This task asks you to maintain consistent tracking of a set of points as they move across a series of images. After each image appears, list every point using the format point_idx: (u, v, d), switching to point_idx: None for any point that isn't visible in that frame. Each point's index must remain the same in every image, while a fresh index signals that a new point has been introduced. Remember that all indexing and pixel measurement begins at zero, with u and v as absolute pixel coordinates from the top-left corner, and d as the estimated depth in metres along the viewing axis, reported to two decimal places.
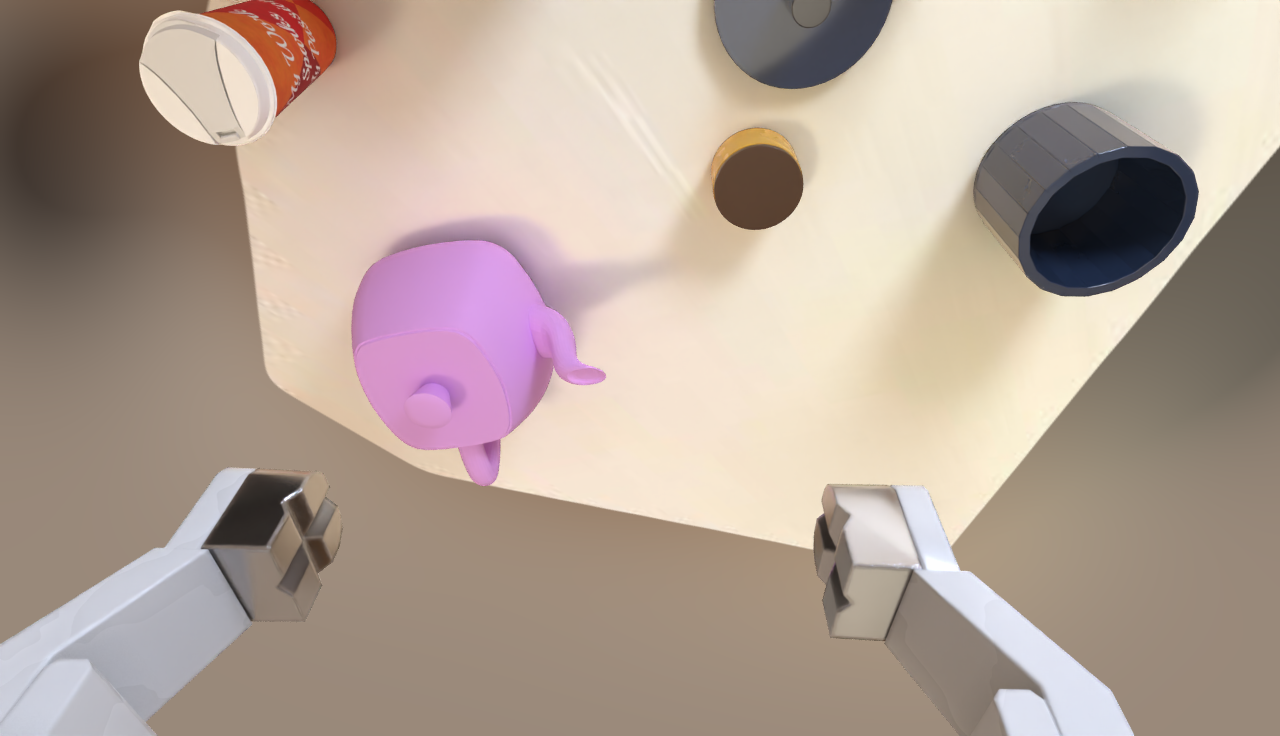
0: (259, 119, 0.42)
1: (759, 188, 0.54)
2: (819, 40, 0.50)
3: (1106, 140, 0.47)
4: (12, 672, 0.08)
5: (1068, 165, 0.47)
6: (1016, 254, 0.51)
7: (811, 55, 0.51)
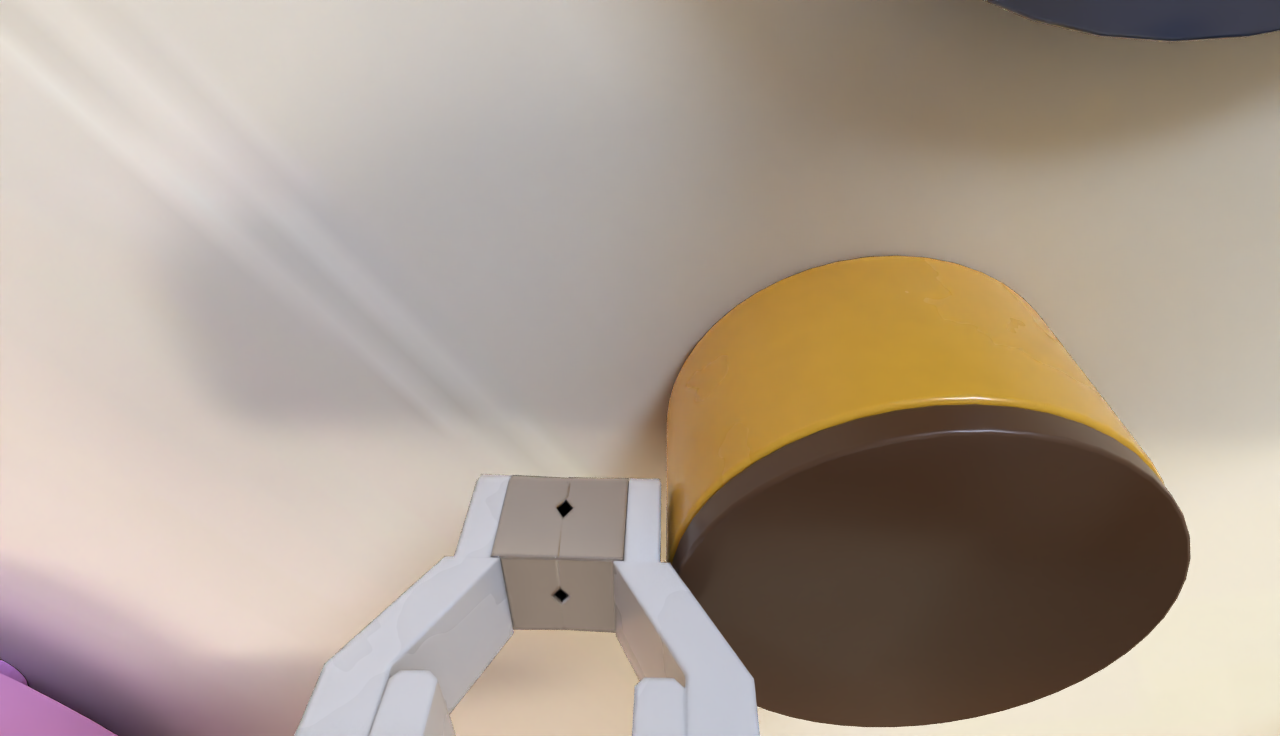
0: None
1: (921, 607, 0.10)
2: None
3: None
4: (358, 684, 0.08)
5: None
6: None
7: None
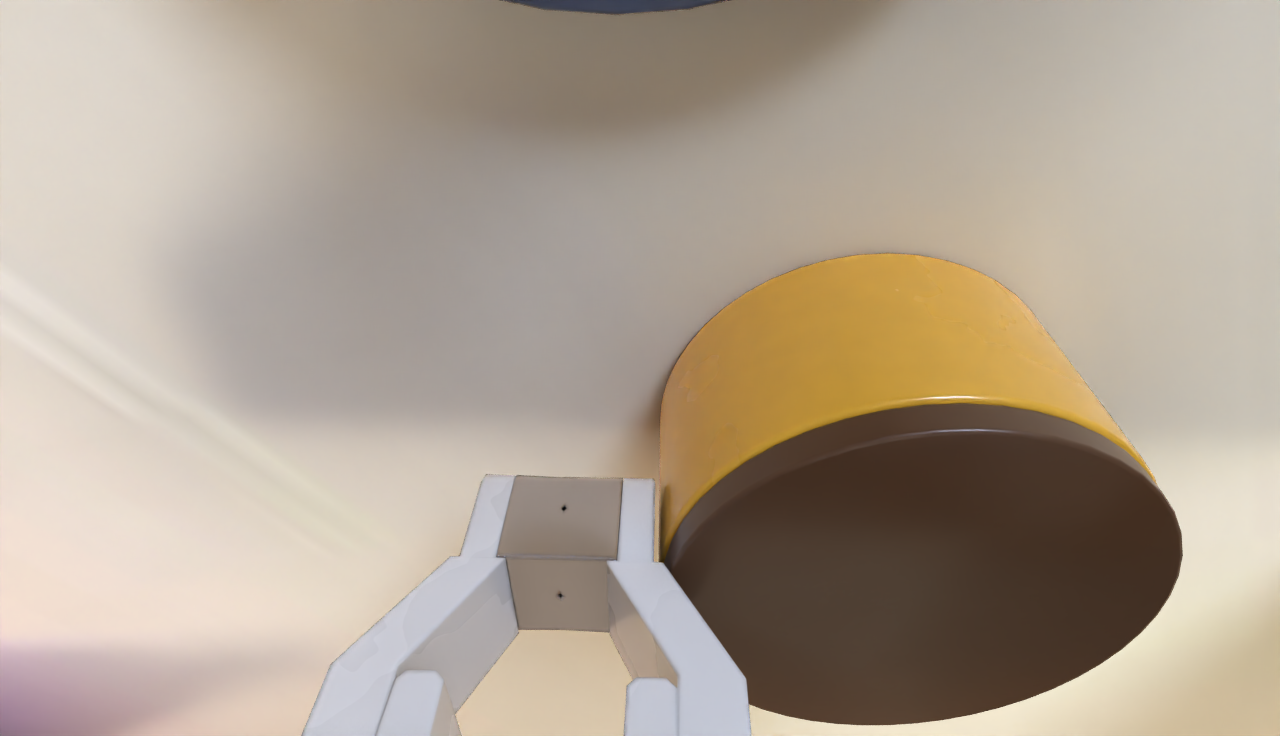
0: None
1: (914, 606, 0.10)
2: None
3: None
4: (364, 684, 0.08)
5: None
6: None
7: None
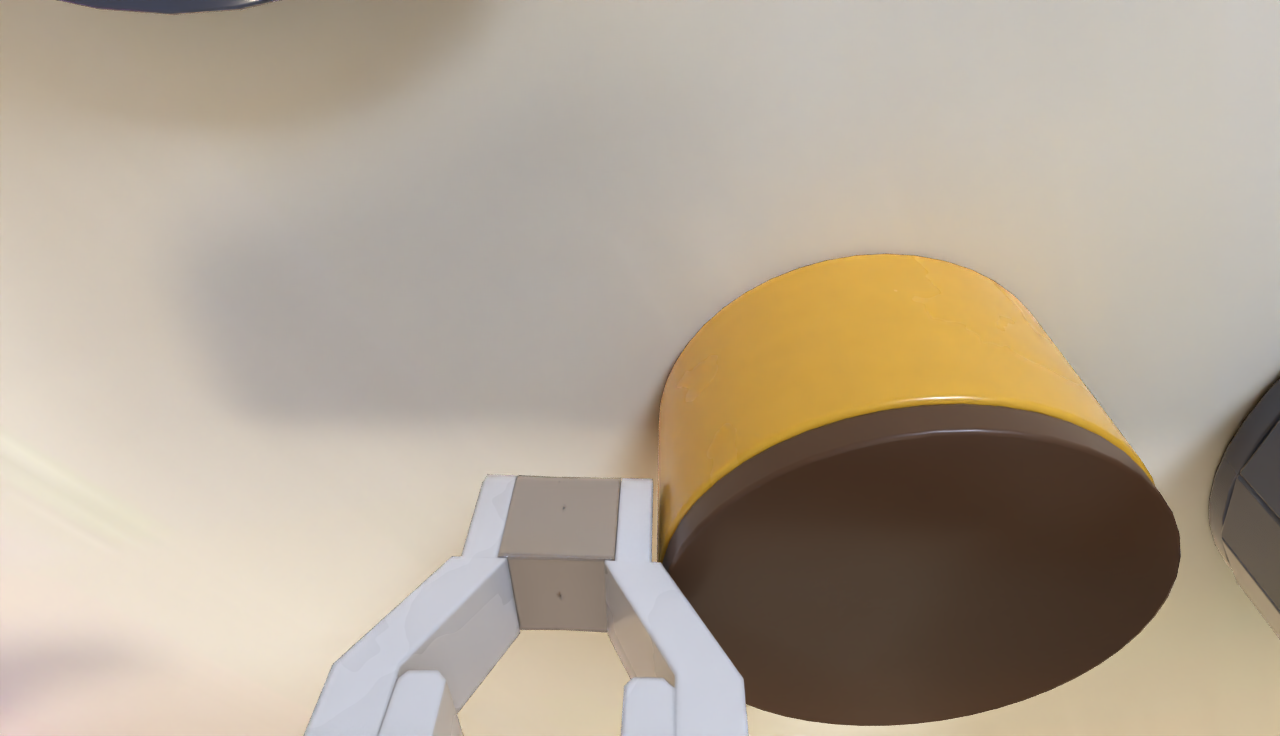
0: None
1: (912, 606, 0.10)
2: None
3: None
4: (366, 684, 0.08)
5: None
6: None
7: None
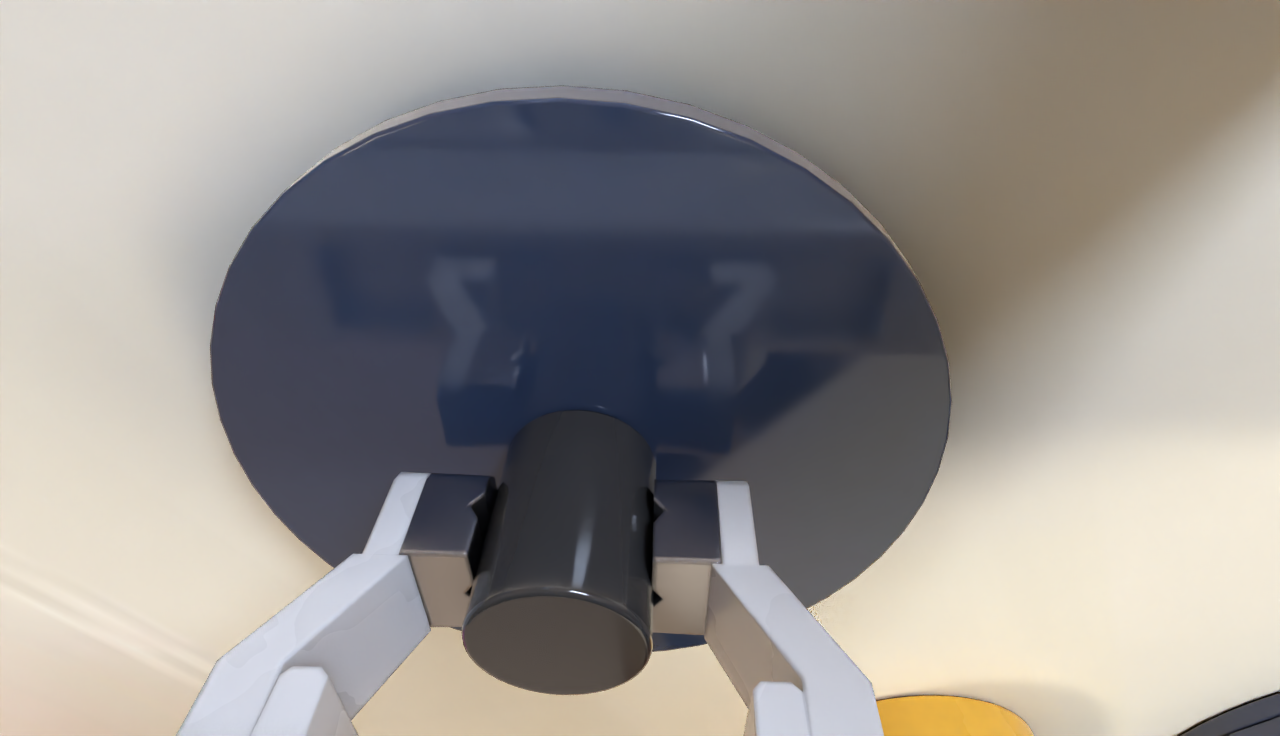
0: None
1: None
2: None
3: None
4: (248, 680, 0.08)
5: None
6: None
7: None
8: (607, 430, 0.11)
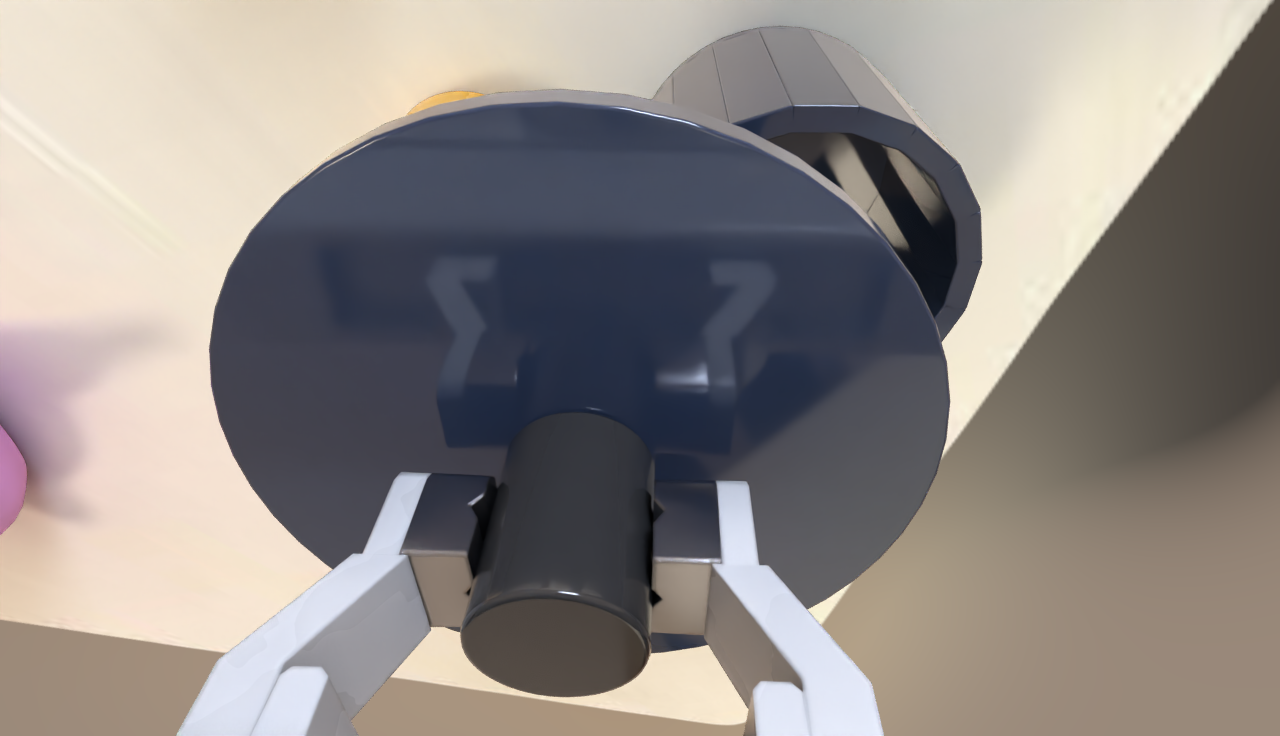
0: None
1: None
2: None
3: (766, 93, 0.21)
4: (248, 680, 0.08)
5: None
6: None
7: None
8: (606, 432, 0.11)
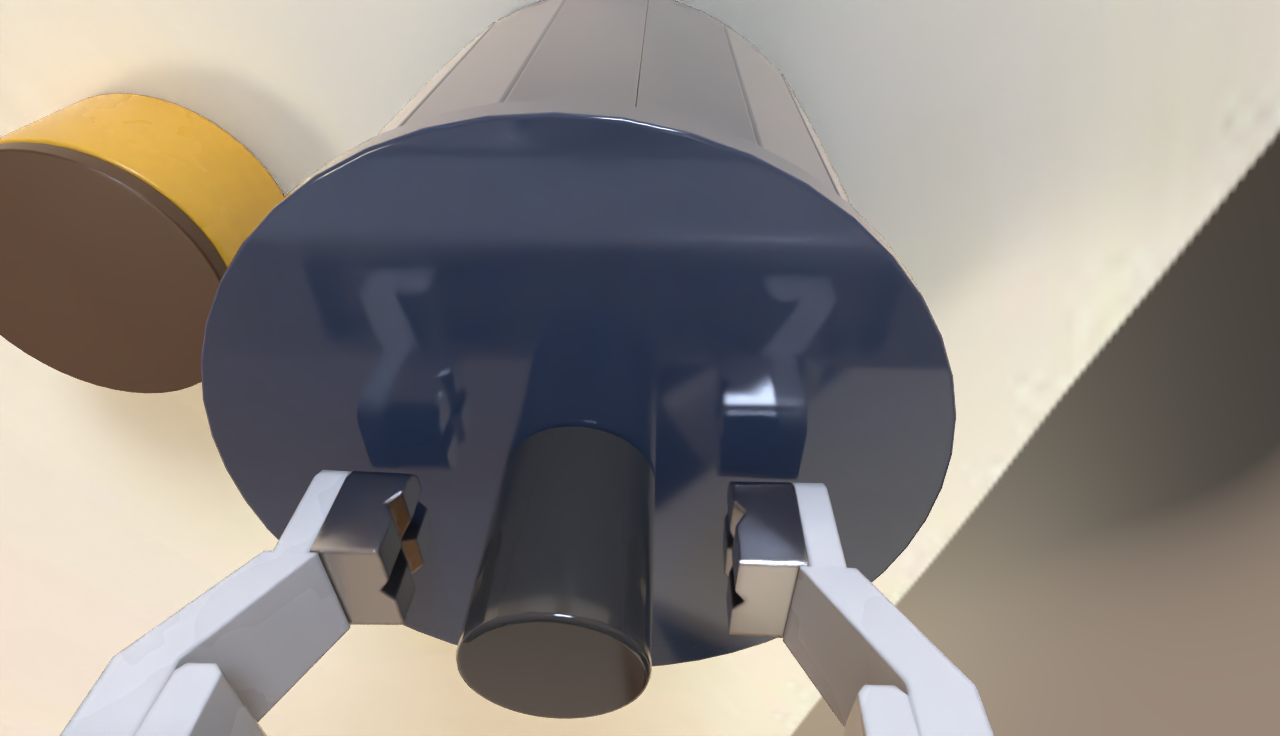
0: None
1: (87, 283, 0.17)
2: (666, 580, 0.14)
3: (476, 97, 0.10)
4: (142, 676, 0.08)
5: None
6: None
7: None
8: (605, 447, 0.11)
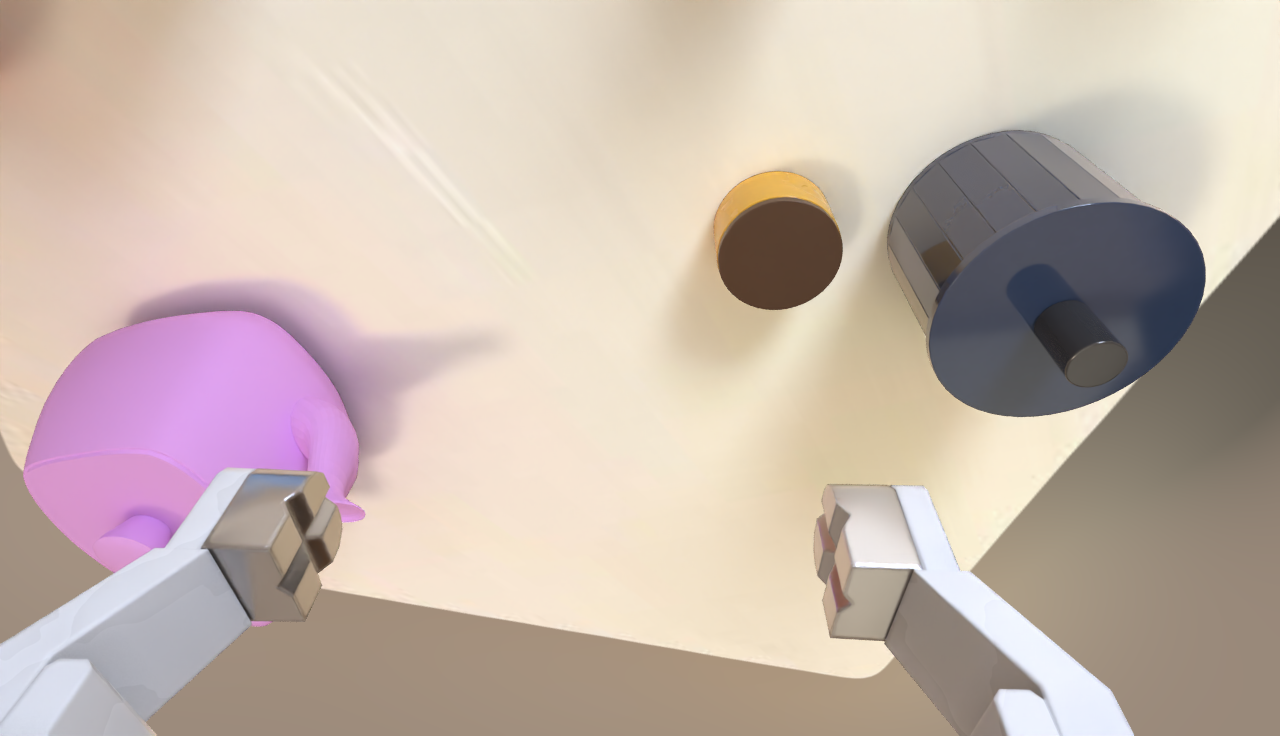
0: None
1: (781, 256, 0.39)
2: None
3: (1054, 191, 0.32)
4: (12, 672, 0.08)
5: (998, 229, 0.32)
6: None
7: (1056, 383, 0.36)
8: (1086, 306, 0.33)
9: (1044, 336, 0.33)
